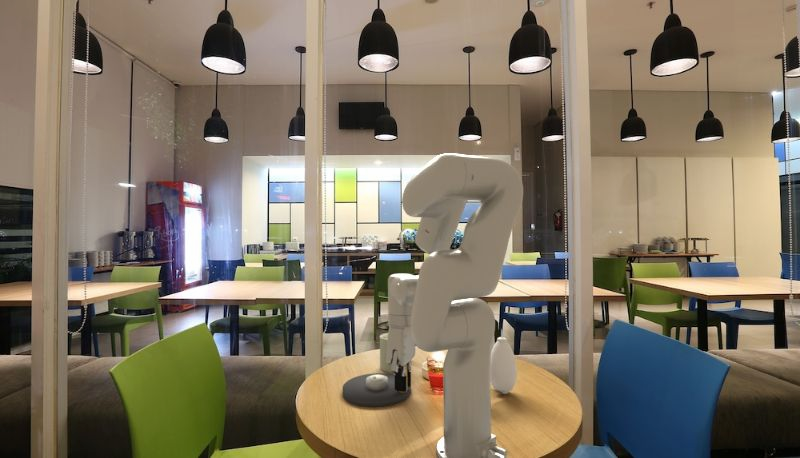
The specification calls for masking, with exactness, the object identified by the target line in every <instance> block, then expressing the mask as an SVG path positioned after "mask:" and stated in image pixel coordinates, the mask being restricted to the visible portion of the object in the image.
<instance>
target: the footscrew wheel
mask: <svg viewBox="0 0 800 458" xmlns="http://www.w3.org/2000/svg"><path fill="white" fill-rule="evenodd" d="M398 368H401V370H402V367H398ZM405 376H406V378H407V364H406V365H405ZM411 393H412V385H411V386H410V387H407V390H406V391H405V392H403V391H397V390H395V376H394V373H385V372H383V373H382V372H381V373H380V372H378V373H376V372H375V373H373V372H372V373H366V374H361V375H358V376H355V377H352V378H350V379H347V381H346V382H345V383H344V384H343V385H342V397H343V399H344V400H345V401H346V402H348V403H350V404H353V405H355V406H359V407H366V408H383V407H389V406H394V405H398V404H399V403H402V402H404V401H406V400H407V399H408V398H409V397H410V396H411Z"/></svg>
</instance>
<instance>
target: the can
mask: <svg viewBox="0 0 800 458" xmlns="http://www.w3.org/2000/svg"><path fill="white" fill-rule="evenodd" d="M387 339H388V332H386V333H381V334H380V335H379V369H380V370H381V371H383V372H387V373H393V372H392V371H391V368H392V364H390V365H388V364H387ZM398 363H400V362H398Z"/></svg>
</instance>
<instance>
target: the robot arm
mask: <svg viewBox="0 0 800 458" xmlns="http://www.w3.org/2000/svg"><path fill="white" fill-rule="evenodd" d="M522 180H523V179H522V177H521V175H520V173H519V171H518V170H517V169H516V168H515V167H514V166H513V165H511V164H510V163H508V162H506V161H505V160H502V159H497V158H494V157H486V156H480V155H479V156H477V155H468V154H461V153H443V154H439V155H437V156H436V157H434V158H433V159H431V160H430V161H429V162H428V163H426V165H425V166H423V167H422V168H421V169H419V170H418V172H416V173H415V174H414V175H413V176H412V177H411V178H410V180H409V181H408V182H407V184H406V186H405V188H404V190H403V193H402V198H401V201H402V202H401V203H402V209H403V210H404V213H405V214H406V215H407V216H409V217H412V218H420V221H419V224H418V227H417V230H416V233H415V237H414V241H415V244H416V246H417V247H418V248H419V249H420V250H421V251H423V252H424V253H426V254H428V256H426V257H425V258H424V260H423V262H422V264H421V266H420V268H419V273H418V274H416V275H414V274H412V273H406V272H405V273H403V272H402V273H393V274H390V275H389V276H388V278H387V294H388V295H387V303H388V304H387V309H388V310H387V311H388V312H387V313H388V316H387V317H388V320H387V321H388V322H387V323H388V332H387V333H388V339H387V364H388V365H390V364H392V368H391V371H392V372H391V373H393V375H394V376H395V390H397V391H403V392H405V391H406V390H407V387H410V386H411V387H412V372H411V371H412V359H414V357H415V356H416V347H417V348H418V349H419V350H421V351H424V352H427V353H435V352H436V353H437V352H442V351H447V352H446V355H445V357H444V361H443V366H442V367H443V368H442V372H443V373H442V376H443V377H442V381H443V382H442V383H443V384H442V385H443V390H442V391H443V394H442V395H443V400H442V401H443V436H442V437H441V438H440V439H439V440H438V441H437V443H436V451H435V452H436V455H437V458H507V456H508V453H509V452H508V449H505V448H503V447H500V446H498V444H497V435H496V434H493V433H492V401H491V399H492V398H491V397H492V396H491V395H492V394H491V393H492V392H491V391H492V390H491V388H492V387H491V386H492V384H491V382H490V379H491V370H490V369H491V351H492V349H493V341H494V337H495V336H494V335H495V331H496V318H495V314H494V311H493V309H492V307H491V306H490V305H489V304H488V303H487V302H486V301H485V300H483V299H481V298H484V297H487V296H490V295H491V294H493V293H494V292H495V291H496V288H497V287H498V284H499V281H500V277H501V274H502V270H503V265H504V262H505V258H506V254H507V250H508V246H509V241H510V238H511V234H512V230H513V228H514V225H515V223H516V220H517V219H518V215H519V213H520V210H521V207H522V203H523V199H524V198H523V197H524V184H523V181H522ZM467 201H478V202H480V206H478V208H477V209H475V211H474V212H473V213H472V214H471V215H470V217H469V219H468V220H467V223H466V225H465V226H464V231H463V236H462V240H461V243H460V245H459V246H458V247H457V248H456V249H451V245H452V243H453V240H454V237H455V234H456V231H457V229H458V226H459V224H460V221H461V218H462V216H463V213H464V211H465V208H466V205H467ZM398 362H400V363H398ZM406 364H407V378H406V376H405V365H406ZM398 367H402V370H401V368H398Z"/></svg>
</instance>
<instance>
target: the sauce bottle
mask: <svg viewBox="0 0 800 458" xmlns="http://www.w3.org/2000/svg"><path fill="white" fill-rule="evenodd" d="M500 330H501V331H500V336H499V337H497V339H496V342H495V343H494V345H493V346H492V348H491V369H490V370H491V379H490V385H491V386H492V388H493V390H495V391H497V392H500V394H501V395H506V394H508V393H510V392H511V391H512V390H513V389H514V387H515V385H516V382H517V378H518V366H517V365H518V364H517V360H516V356H515V354H514V351H513V349H512V347H511V345H510V344H509V343H508V339H507V338H506V337H504V333H503V329H500Z"/></svg>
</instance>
